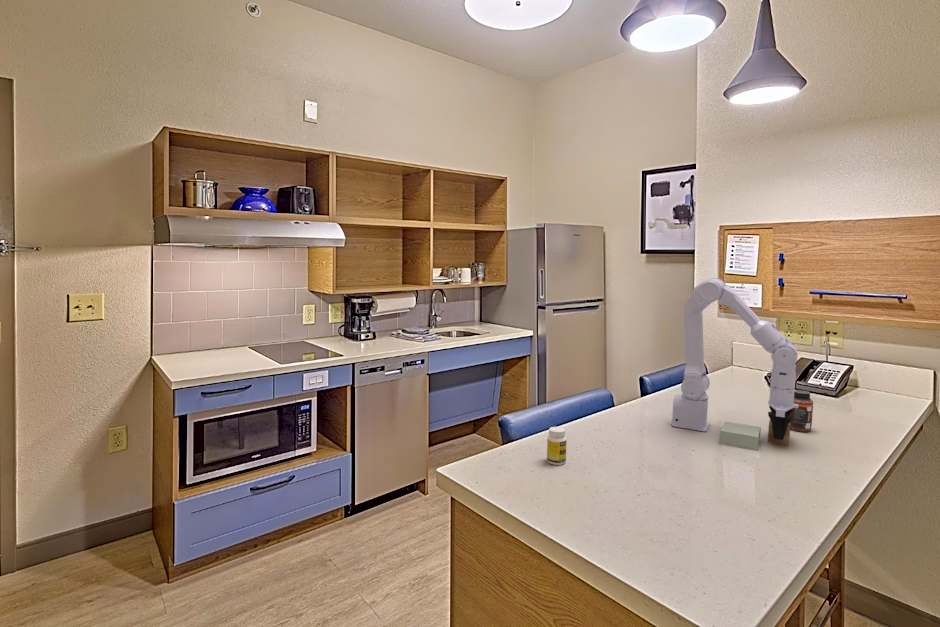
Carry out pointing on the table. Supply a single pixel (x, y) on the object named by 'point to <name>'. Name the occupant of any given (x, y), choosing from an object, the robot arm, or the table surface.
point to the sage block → (740, 435)
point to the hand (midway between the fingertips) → (778, 435)
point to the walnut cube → (778, 441)
